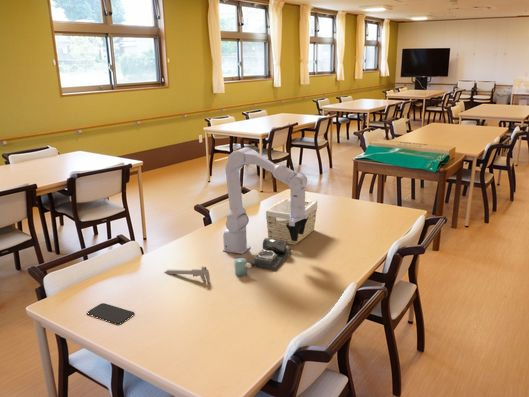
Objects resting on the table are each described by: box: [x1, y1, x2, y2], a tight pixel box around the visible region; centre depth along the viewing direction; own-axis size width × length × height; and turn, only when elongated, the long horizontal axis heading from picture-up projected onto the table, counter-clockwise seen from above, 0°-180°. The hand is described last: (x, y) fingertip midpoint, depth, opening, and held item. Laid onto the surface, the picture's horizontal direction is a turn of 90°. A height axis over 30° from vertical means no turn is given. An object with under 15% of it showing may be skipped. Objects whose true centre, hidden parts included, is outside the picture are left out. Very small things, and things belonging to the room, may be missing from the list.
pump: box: [234, 257, 252, 277], centre depth 169 cm, size 6×4×6 cm
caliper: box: [164, 266, 211, 283], centre depth 168 cm, size 20×1×6 cm, turn 63°
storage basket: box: [265, 196, 318, 245], centre depth 205 cm, size 24×16×15 cm
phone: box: [86, 302, 135, 325], centre depth 145 cm, size 7×1×15 cm
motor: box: [248, 237, 292, 271], centre depth 181 cm, size 11×18×6 cm, turn 157°
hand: (297, 237), depth 178 cm, fingers open, 7 cm apart
